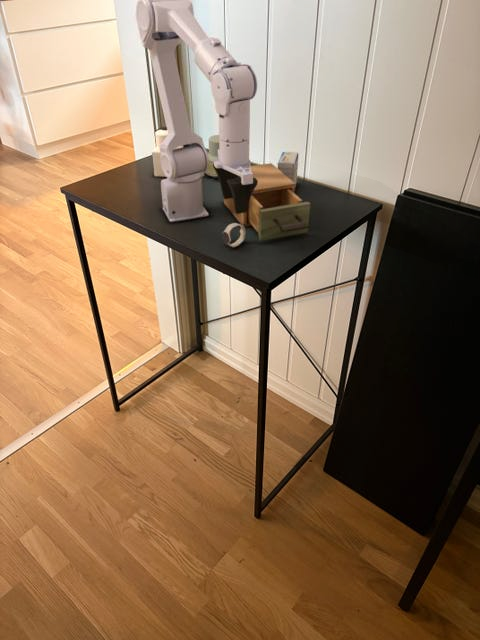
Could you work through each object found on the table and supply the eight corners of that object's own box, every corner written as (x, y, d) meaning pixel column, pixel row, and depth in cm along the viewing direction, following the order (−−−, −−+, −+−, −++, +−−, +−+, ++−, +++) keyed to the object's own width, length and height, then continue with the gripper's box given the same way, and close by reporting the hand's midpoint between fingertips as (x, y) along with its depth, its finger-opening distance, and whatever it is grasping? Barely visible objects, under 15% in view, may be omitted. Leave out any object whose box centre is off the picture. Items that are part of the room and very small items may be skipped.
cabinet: (292, 218, 117) (295, 183, 111) (243, 227, 113) (243, 191, 108) (270, 195, 127) (271, 163, 121) (223, 203, 123) (223, 169, 118)
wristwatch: (221, 246, 106) (221, 225, 103) (239, 239, 109) (239, 218, 105) (229, 251, 104) (229, 230, 101) (248, 244, 107) (248, 223, 104)
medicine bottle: (160, 167, 142) (156, 124, 134) (185, 168, 141) (182, 125, 134) (154, 176, 136) (149, 132, 129) (179, 178, 136) (175, 133, 128)
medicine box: (293, 196, 126) (295, 163, 121) (276, 194, 127) (277, 161, 122) (296, 184, 132) (299, 152, 127) (280, 182, 133) (281, 150, 128)
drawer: (318, 242, 106) (321, 213, 102) (269, 251, 103) (270, 222, 98) (284, 208, 118) (286, 181, 114) (240, 216, 115) (240, 188, 111)
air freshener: (196, 173, 138) (194, 137, 132) (215, 165, 143) (214, 130, 137) (225, 183, 133) (224, 146, 126) (244, 174, 138) (245, 138, 131)
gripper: (202, 128, 96) (205, 193, 105) (227, 152, 86) (228, 223, 94) (236, 124, 98) (236, 189, 107) (264, 148, 88) (262, 217, 96)
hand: (234, 205), depth 101 cm, fingers open, 7 cm apart
